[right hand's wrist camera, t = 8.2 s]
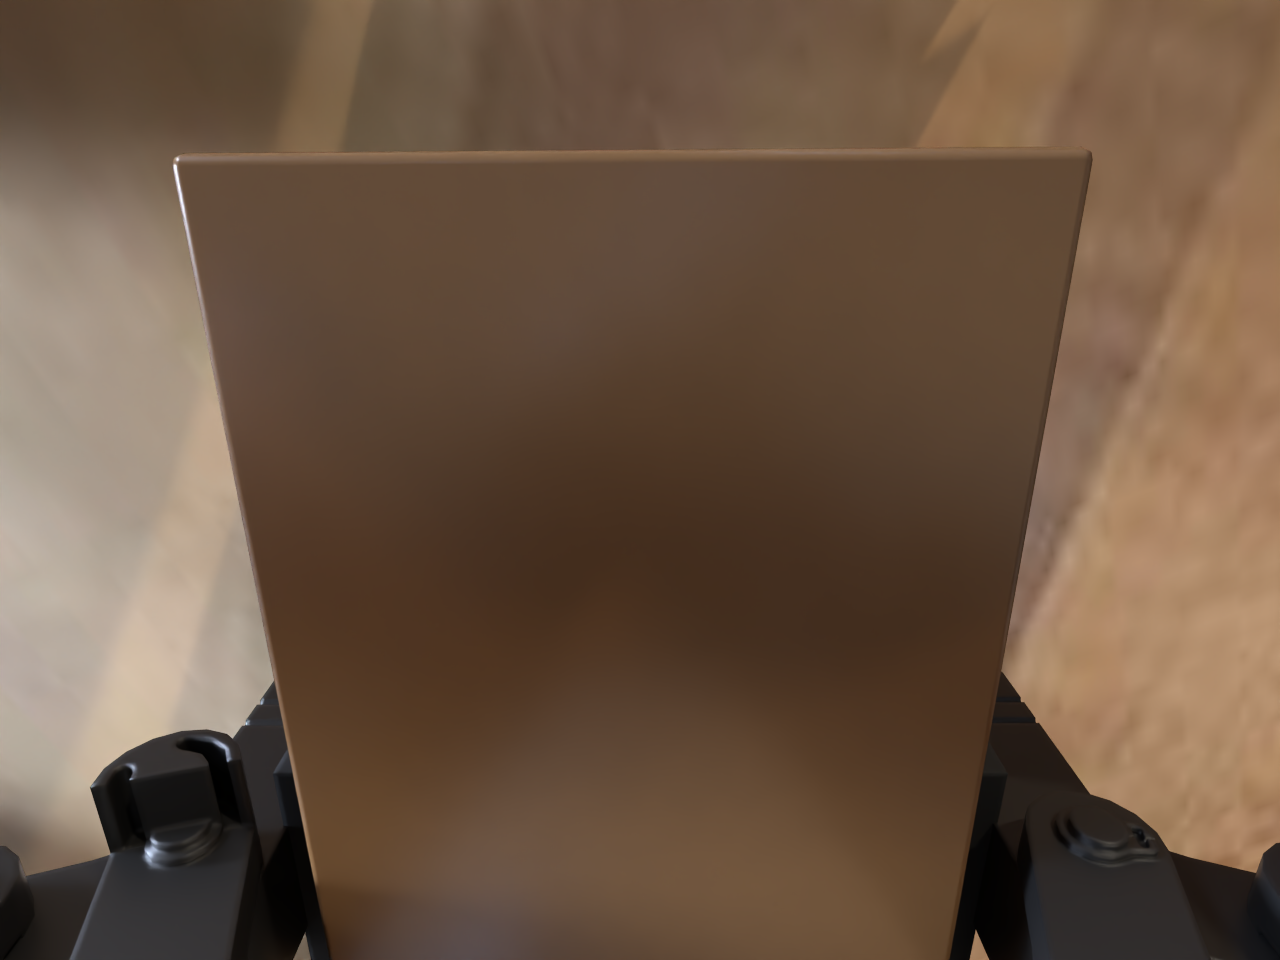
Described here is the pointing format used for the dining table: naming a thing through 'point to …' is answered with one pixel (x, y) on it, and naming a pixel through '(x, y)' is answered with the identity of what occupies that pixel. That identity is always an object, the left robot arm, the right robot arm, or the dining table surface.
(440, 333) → the beam
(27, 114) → the dining table surface
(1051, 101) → the dining table surface
